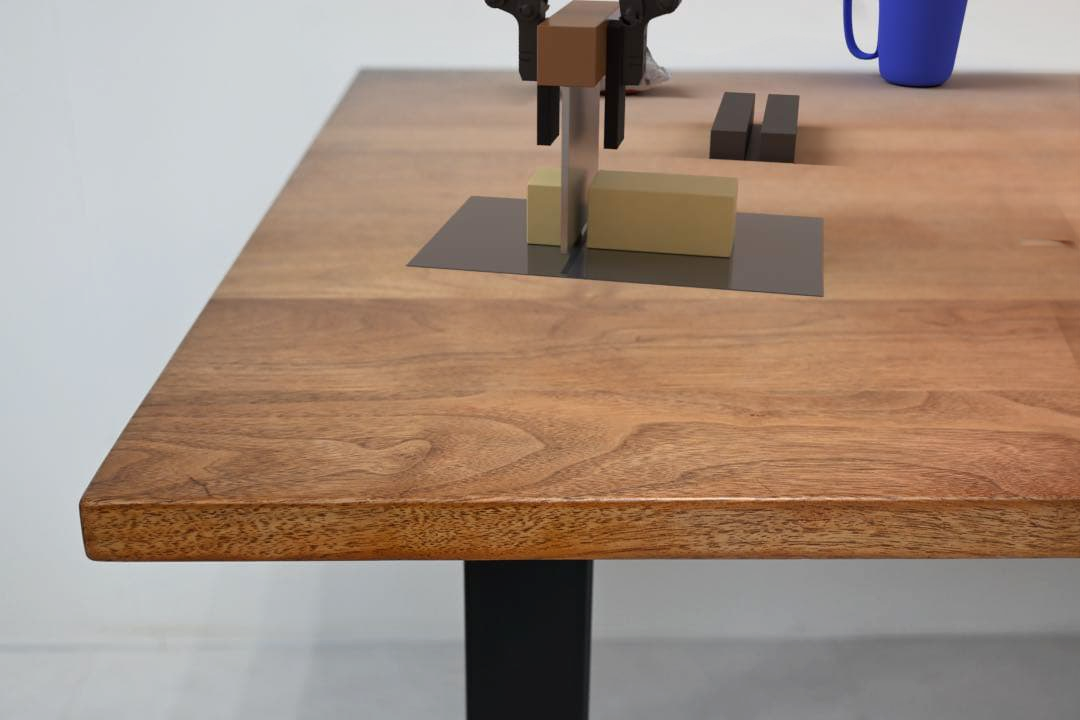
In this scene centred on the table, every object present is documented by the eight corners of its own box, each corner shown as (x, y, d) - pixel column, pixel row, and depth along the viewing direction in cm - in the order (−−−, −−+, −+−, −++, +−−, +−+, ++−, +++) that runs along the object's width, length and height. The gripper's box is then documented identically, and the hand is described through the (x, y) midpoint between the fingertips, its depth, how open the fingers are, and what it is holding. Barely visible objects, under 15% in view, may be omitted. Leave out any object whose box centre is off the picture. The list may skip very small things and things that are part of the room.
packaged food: (670, 103, 112) (672, 46, 110) (537, 105, 111) (538, 48, 109) (653, 85, 120) (655, 32, 118) (529, 87, 119) (529, 34, 117)
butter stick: (734, 236, 72) (738, 177, 71) (730, 258, 69) (734, 196, 67) (597, 227, 74) (599, 169, 72) (586, 248, 70) (587, 187, 69)
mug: (852, 67, 129) (862, -35, 125) (969, 80, 123) (984, -27, 119) (819, 79, 123) (829, -27, 119) (941, 93, 116) (955, -18, 113)
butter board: (821, 236, 76) (823, 217, 76) (821, 318, 64) (823, 296, 63) (471, 213, 80) (470, 195, 80) (406, 286, 68) (405, 265, 67)
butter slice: (582, 226, 74) (583, 168, 73) (570, 247, 70) (570, 186, 69) (540, 223, 74) (541, 165, 73) (526, 244, 71) (526, 183, 69)
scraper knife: (618, 205, 76) (624, 1, 71) (591, 256, 67) (595, 27, 62) (570, 202, 77) (572, -1, 72) (536, 252, 68) (537, 25, 63)
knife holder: (796, 132, 102) (799, 95, 101) (792, 175, 89) (796, 134, 88) (722, 128, 103) (724, 91, 102) (708, 171, 90) (710, 129, 89)
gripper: (406, -344, 59) (422, 149, 68) (753, -351, 56) (721, 166, 65) (449, -327, 66) (458, 120, 75) (761, -332, 63) (730, 134, 72)
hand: (580, 140), depth 70 cm, fingers closed on scraper knife, 3 cm apart
